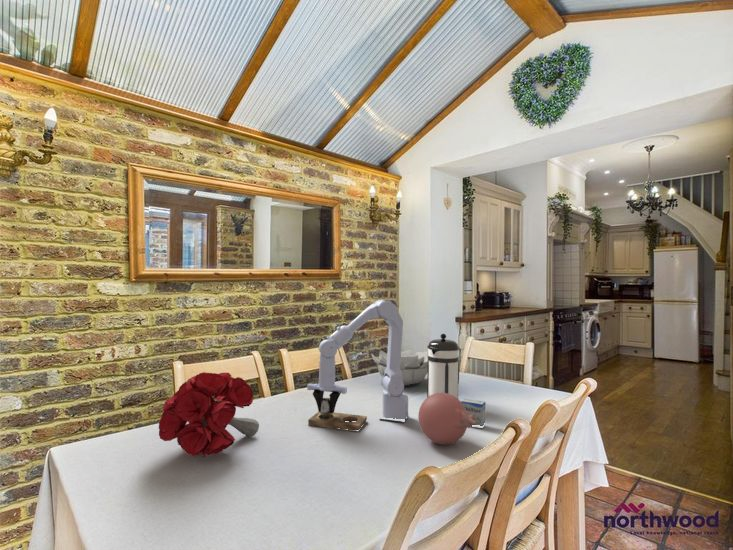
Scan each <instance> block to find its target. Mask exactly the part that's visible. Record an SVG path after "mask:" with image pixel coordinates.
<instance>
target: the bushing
mask: <svg viewBox="0 0 733 550" xmlns="http://www.w3.org/2000/svg"><path fill="white" fill-rule="evenodd" d="M330 405H331V404H330V397H323V398H322V399H321V415H320V419H332V413H330Z"/></svg>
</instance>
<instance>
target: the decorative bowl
mask: <svg viewBox="0 0 733 550" xmlns="http://www.w3.org/2000/svg"><path fill="white" fill-rule="evenodd" d="M378 355H379V356H378V357H379V358H378V357H376V356H375V355H374V353H371V358H372V359H373V361H374V362H375V363H376V364H377V370H378V373H379V375H380V376H381V379H382V378H383V376H384V373H385V369H386V367H387V353H386V352H385V351H383V350H380V351H379V352H378ZM400 370H401V373H402V381H403V383H404V385H408V386H410V385H409V384H413V385H416V384H419V383H421V382H422V381H423V380H425V378H426V377H427V370H428V351H423V352H421V351H417V352H414V351H413V350H411V349H407V350H405V351H401V364H400ZM415 383H416V384H415Z"/></svg>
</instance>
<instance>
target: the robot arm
mask: <svg viewBox="0 0 733 550" xmlns="http://www.w3.org/2000/svg"><path fill="white" fill-rule="evenodd" d="M379 318H382V319H383V320H384V321H385V322H386V324H387V325H388V338H387V340H388V341H387V353H386V354H387V367H386V369H385V373H384V376H383V378H382V377H381V386H382V387H383V388H384V389H383V390H382V414H383V417H385V418H393V419H395V418H396V419H406V417H407V416H408V417H409V395H407V394H404V393H403V392H404V390H405V386H404V383H403V381H402V373H401V370H400V364H401V352H402V347H403V331H404V329H403V328H404V327H403V326H404V321H403V318H402V316H401V314H400V312H399V311H398V307H397V306H396V305H395V304H394V303H393V302H392V301H390V300H384V299H378V300H376V301H374V303H371V304H370V305H369V306H367V307H366V308H365V309H364V310H363V311H362V312H360V313H359V315H357V317H355V319H353V320H352V321H351V322H349V324H348V325H341V326H337V327H336V330H335V331H334V332H333V333H332V334H330V335H327V336H326V339H323V340H322V341H321V342H320V343H319V346H318V350H319V362H318V363H319V364H318V367H319V368H318V383H307V386H306V389H307V391H312V396H313V397H314V400H315V403H316V406H317V412H321V399H322V398H324V393H325V392H327V393H328V392H329V394H328V395H329V398H330V404H331V405H330V413H333V412H335V409H336V405H337V402H338V399H339V398H340V395H341V394H343V395H346V394H347V393H348V392H347V391H348V390H347V389H348V387H346V386H341V385H337V384H336V354H337V352H338V350H340V349H341V348H342V347H343V346H345V345H346V344H347V343H348V342H349V341H350V340H351V339H353V335H354V333H355V332H356V331H357V330H358V329H360V328H361V327H362V326H363V325H365V324H366V323H367V322H369V321H370V320H375V319H379ZM408 417H407V418H408ZM406 420H407V419H406Z"/></svg>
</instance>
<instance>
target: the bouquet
mask: <svg viewBox="0 0 733 550" xmlns="http://www.w3.org/2000/svg"><path fill="white" fill-rule="evenodd" d="M253 401H254V393H253V389H252V387H251V386H250V385H249V384H248V382H246V380H245V379H244V378H243V377H240V376H237V377H233V376H232V374H231V373H229V372H221V373H215V372H214V373H213V372H206V371H205V372H204V371H203V372H199V373H198V374H196V375H194V376H192V377H189V378H188V379H187V381H185V382H183V383H182V384H181V385H180V386H179V388H178V390H177V391H176V392H174V393H173V395H172V396H171V397H169V398H168V399H166V400H165V401H164V404H163V408H162V409H163V411H162V414H161V416H160V420H159V423H158V430H159V431H158V436H159V439H161V440H162V441H163V442H170V441H172V440H174V439H176V442H177V445H178V446H180V448H181V449H182V451H184V452H185V453H186V454H187V455H189V456H192V457H197V456H200V455H202V458H205V457H206V456H210V455H215V454H218V453H221V452H223V451H224V450H227V449H228V448H230V447H231V446H233V445H234V443H235V441H236V439H235V437H234V436H233V434H231V432H230V431H229V430H228V429H226V428H227V427H228V425H229V426H231V427H233V428H234V429H236V430H237V431H238V432H240V433H241V434H243V435H245V436H248V437H254V436H255V435H256V434H257V433H258V431H259V428H260V423H259V421H258V420H256V419H254V418H249V417H248V418H247V417H235V415H236V411H237V408H241V409H245V407H250V406H251V404H253Z"/></svg>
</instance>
